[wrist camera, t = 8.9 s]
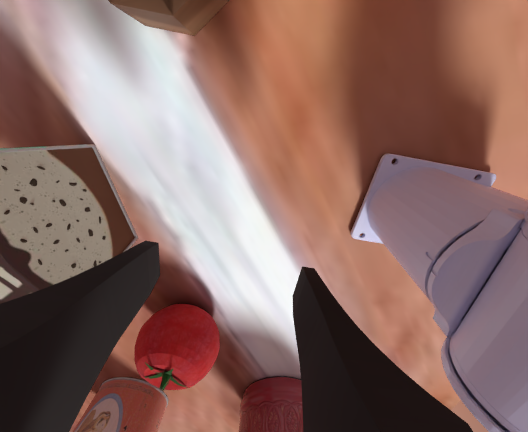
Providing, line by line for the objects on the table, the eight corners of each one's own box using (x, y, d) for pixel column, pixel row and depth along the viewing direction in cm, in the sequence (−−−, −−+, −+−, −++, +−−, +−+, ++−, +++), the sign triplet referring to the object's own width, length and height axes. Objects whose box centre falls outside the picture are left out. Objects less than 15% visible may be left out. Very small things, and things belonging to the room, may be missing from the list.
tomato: (147, 288, 25) (97, 359, 18) (222, 290, 25) (201, 362, 18) (164, 337, 29) (128, 411, 22) (228, 339, 29) (214, 415, 22)
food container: (19, 135, 18) (-228, 162, 9) (85, 124, 18) (-110, 141, 9) (91, 255, 24) (-22, 345, 15) (143, 249, 23) (60, 340, 14)
